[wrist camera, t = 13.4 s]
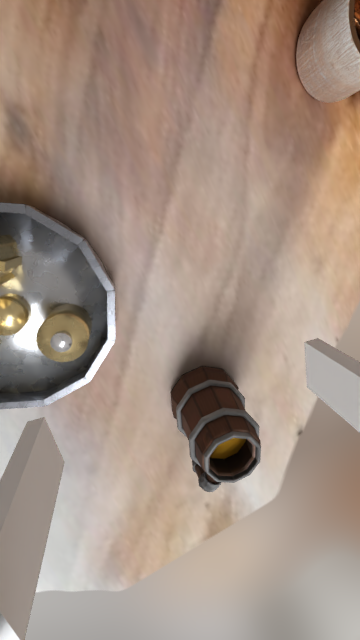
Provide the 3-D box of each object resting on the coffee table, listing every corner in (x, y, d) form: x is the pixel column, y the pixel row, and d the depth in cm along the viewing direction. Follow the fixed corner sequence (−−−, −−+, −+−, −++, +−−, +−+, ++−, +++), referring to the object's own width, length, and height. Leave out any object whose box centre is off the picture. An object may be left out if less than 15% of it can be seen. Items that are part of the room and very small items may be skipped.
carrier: (-49, 155, 34) (-107, 131, 25) (149, 276, 43) (157, 289, 34) (-134, 343, 38) (-209, 379, 29) (62, 417, 47) (49, 462, 38)
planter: (279, 78, 38) (328, 34, 29) (318, -17, 36) (384, -97, 27) (340, 119, 41) (402, 91, 33) (380, 34, 39) (458, -22, 30)
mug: (178, 362, 48) (203, 418, 34) (243, 371, 51) (290, 426, 37) (157, 440, 52) (171, 519, 38) (218, 444, 55) (252, 518, 41)
